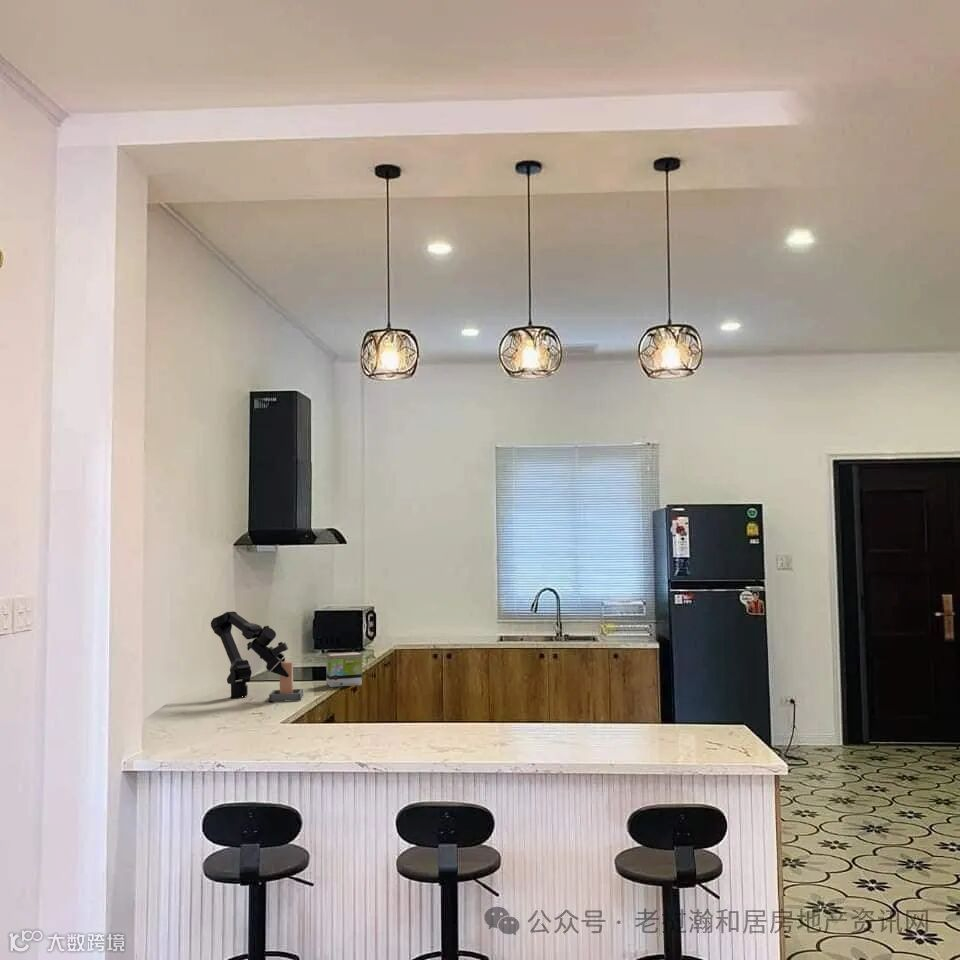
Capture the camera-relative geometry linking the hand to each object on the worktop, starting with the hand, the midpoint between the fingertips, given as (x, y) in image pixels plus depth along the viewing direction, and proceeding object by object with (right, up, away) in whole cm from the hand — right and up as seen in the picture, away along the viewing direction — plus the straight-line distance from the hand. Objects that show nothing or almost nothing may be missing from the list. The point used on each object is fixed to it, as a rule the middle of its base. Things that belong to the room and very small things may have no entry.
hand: (289, 675), depth 381 cm
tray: (-1, -10, -1) cm, 10 cm away
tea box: (+18, -13, +34) cm, 41 cm away
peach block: (-1, -9, -1) cm, 10 cm away
